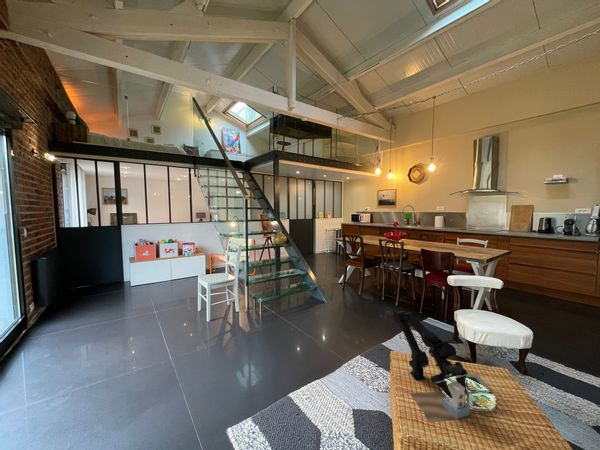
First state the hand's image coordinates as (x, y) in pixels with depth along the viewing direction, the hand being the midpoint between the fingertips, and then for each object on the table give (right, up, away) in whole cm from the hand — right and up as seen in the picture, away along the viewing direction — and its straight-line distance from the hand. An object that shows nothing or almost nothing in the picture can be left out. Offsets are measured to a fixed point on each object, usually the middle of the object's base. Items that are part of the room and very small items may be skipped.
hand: (459, 395), depth 115 cm
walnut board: (-7, -9, +5) cm, 12 cm away
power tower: (0, -8, +2) cm, 8 cm away
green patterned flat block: (+22, -8, +19) cm, 30 cm away
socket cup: (0, -8, +2) cm, 9 cm away
